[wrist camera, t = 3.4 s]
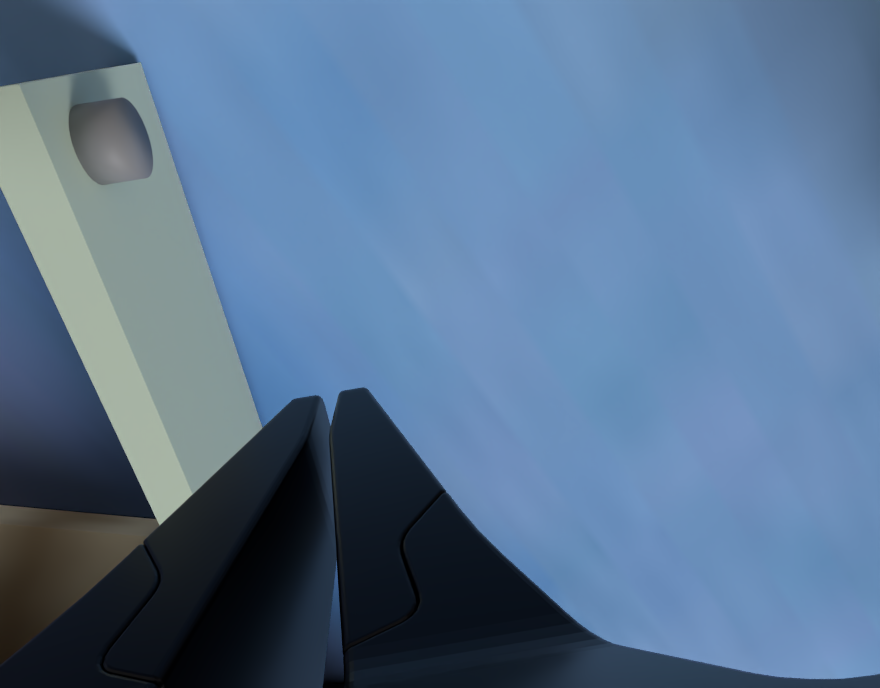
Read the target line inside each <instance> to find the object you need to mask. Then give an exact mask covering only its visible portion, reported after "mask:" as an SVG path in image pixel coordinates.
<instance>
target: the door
mask: <svg viewBox="0 0 880 688" xmlns="http://www.w3.org/2000/svg"><path fill="white" fill-rule="evenodd" d="M0 187H1V189H2V191H3V194H4V196H5V198H6V200H7V202H8V204H9V206H10V208H11V211H12V213H13V215H14V217H15V219H16V221H17V223H18V226H19V228H20V230H21V232H22V234H23V236H24V238H25V240H26V243H27V245H28V247H29V249H30V251H31V253H32V255H33V257H34V260H35V262H36V264H37V266H38V268H39V270H40V272H41V274H42V277H43V279H44V281H45V283H46V285H47V287H48V289H49V291H50V294H51V296H52V298H53V300H54V302H55V304H56V306H57V308H58V311H59V313H60V315H61V317H62V319H63V321H64V323H65V326H66V328H67V330H68V332H69V334H70V336H71V338H72V340H73V343H74V345H75V347H76V349H77V351H78V353H79V355H80V357H81V360H82V362H83V364H84V366H85V368H86V370H87V372H88V374H89V377H90V379H91V381H92V383H93V385H94V387H95V389H96V391H97V394H98V396H99V398H100V400H101V402H102V404H103V406H104V408H105V411H106V413H107V415H108V417H109V419H110V421H111V423H112V426H113V428H114V430H115V432H116V434H117V436H118V438H119V440H120V443H121V445H122V447H123V449H124V451H125V453H126V455H127V457H128V460H129V462H130V464H131V466H132V468H133V470H134V472H135V474H136V477H137V479H138V481H139V483H140V485H141V487H142V489H143V491H144V494H145V496H146V498H147V500H148V502H149V504H150V506H151V508H152V511H153V513H154V515H155V517H156V519H157V521H158V523H159V525H160V524H162V523H163V522H164V521H165V520H166V519H167V518H168V517H169V516H170V515H171V514H172V513H173V512H174V511H175V510H176V509H177V508H179V507H180V506H181V505H182V504H183V503H184V502H185V501H186V500H187V499H188V498H189V497H190V496H191V495H192V494H193V493H194V492H195V491H197V490H198V489H199V488H200V487H201V486H202V485H203V484H204V483H205V482H206V481H207V480H208V479H209V478H210V477H211V476H212V475H213V474H215V473H216V472H217V471H218V470H219V469H220V468H221V467H222V466H223V465H224V464H225V463H226V462H227V461H228V460H229V459H230V458H231V457H233V456H234V455H235V454H236V453H237V452H238V451H239V450H240V449H241V448H242V447H243V446H244V445H245V444H246V443H247V442H248V441H249V440H251V439H252V438H253V437H254V436H255V435H256V434H257V433H258V432H259V431H260V430H261V429H262V425H261V422H260V419H259V416H258V413H257V410H256V407H255V404H254V401H253V398H252V395H251V392H250V389H249V386H248V383H247V380H246V377H245V374H244V371H243V368H242V365H241V362H240V359H239V356H238V353H237V350H236V347H235V344H234V341H233V338H232V335H231V332H230V329H229V326H228V323H227V320H226V317H225V314H224V311H223V308H222V305H221V302H220V299H219V296H218V293H217V290H216V287H215V284H214V281H213V278H212V275H211V272H210V269H209V266H208V263H207V260H206V257H205V254H204V251H203V248H202V245H201V242H200V239H199V236H198V233H197V230H196V227H195V224H194V221H193V218H192V215H191V212H190V209H189V206H188V203H187V200H186V197H185V194H184V191H183V188H182V185H181V182H180V179H179V176H178V173H177V170H176V167H175V164H174V161H173V158H172V155H171V152H170V149H169V146H168V143H167V140H166V137H165V134H164V131H163V128H162V125H161V122H160V119H159V116H158V113H157V110H156V107H155V104H154V101H153V98H152V95H151V92H150V89H149V86H148V83H147V80H146V77H145V74H144V71H143V68H142V65H141V62H140V63H133V64H127V65H121V66H114V67H108V68H102V69H96V70H90V71H84V72H79V73H73V74H67V75H62V76H56V77H50V78H45V79H39V80H33V81H28V82H22V83H16V84H11V85H5V86H0Z"/></svg>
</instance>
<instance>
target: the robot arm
mask: <svg viewBox="0 0 880 688" xmlns="http://www.w3.org/2000/svg"><path fill="white" fill-rule="evenodd" d="M143 543H144V545H143V544H140V545H138V546H137V547H136V548H135V549H134V550H133V551H132V552H131V553H130V554H129V555H127V556H126V557H125V558H124V559H123V560H122V561H121V562H120V563H119V564H118V565H117V566H116V567H115V568H114V569H112V570H111V571H110V572H109V573H108V574H107V575H106V576H105V577H104V578H103V579H101V580H100V581H99V582H98V583H97V584H96V585H95V586H94V587H93V588H91V589H90V590H89V591H88V592H87V593H86V594H85V595H84V596H83V597H81V598H80V599H79V600H78V601H77V602H76V603H74V604H73V605H72V606H71V607H70V608H68V609H67V610H66V611H65V612H64V613H63V614H61V615H60V616H59V617H58V618H57V619H55V620H54V621H53V622H52V623H51V624H49V625H48V626H47V627H46V628H45V629H44V630H42V631H41V632H40V633H39V634H37V635H36V636H35V637H34V638H33V639H31V640H30V641H29V642H28V643H26V644H25V645H24V646H23V647H22V648H20V649H19V650H18V651H17V652H16V653H14V654H13V655H12V656H11V657H9V658H8V659H7V660H6V661H5V662H3V663H2V664H1V665H0V688H880V674H877V675H871V676H863V677H854V678H846V679H800V678H784V677H775V676H769V675H762V674H755V673H750V672H746V671H741V670H736V669H731V668H726V667H722V666H717V665H712V664H707V663H702V662H697V661H693V660H688V659H683V658H678V657H673V656H668V655H664V654H659V653H654V652H649V651H644V650H640V649H635V648H630V647H625V646H620V645H617V644H613V643H611V642H608V641H606V640H604V639H602V638H600V637H599V636H597V635H595V634H593V633H592V632H590V631H589V630H587V629H586V628H585V627H583V626H582V625H580V624H579V623H578V622H577V621H576V620H574V619H573V618H572V617H571V616H570V615H569V614H568V613H566V612H565V611H564V610H563V609H562V608H561V607H560V606H559V605H558V604H557V603H555V602H554V601H553V600H552V599H551V598H550V597H549V596H548V595H547V594H546V593H545V592H543V591H542V590H541V589H540V588H539V587H538V586H537V585H536V584H535V583H534V582H532V581H531V580H530V579H529V578H528V577H527V576H526V575H525V574H524V573H523V572H522V571H520V570H519V569H518V568H517V567H516V566H515V565H514V564H513V563H512V562H511V561H510V560H508V559H507V558H506V557H505V556H504V555H503V554H502V553H501V552H500V551H499V550H498V549H497V548H496V547H495V546H494V545H493V544H492V543H491V542H490V541H489V540H488V539H487V538H486V537H485V536H484V535H483V534H482V533H481V532H480V531H479V530H478V529H477V528H476V527H475V526H474V525H473V523H472V522H471V521H470V520H469V519H468V517H467V516H466V515H465V514H464V513H463V512H462V510H461V509H460V508H459V507H458V505H457V504H456V503H455V502H454V500H453V499H452V498H451V496H450V495H449V494H448V493H447V492H446V490H445V489H444V488H443V486H442V485H441V484H440V482H439V481H438V480H437V479H436V477H435V476H434V475H433V473H432V472H431V471H430V469H429V468H428V467H427V466H426V464H425V463H424V462H423V460H422V459H421V458H420V456H419V455H418V454H417V453H416V451H415V450H414V449H413V447H412V446H411V445H410V443H409V442H408V441H407V440H406V438H405V437H404V436H403V434H402V433H401V432H400V430H399V429H398V428H397V427H396V425H395V424H394V423H393V421H392V420H391V419H390V417H389V416H388V415H387V414H386V412H385V411H384V410H383V408H382V407H381V406H380V404H379V403H378V402H377V401H376V399H375V398H374V397H373V395H372V394H371V393H370V391H369V390H368V389H367V388H357V389H351V390H345V391H341V392H340V393H339V395H338V399H337V403H336V407H335V411H334V416H333V420H332V424H331V426H330V423H329V419H328V415H327V411H326V408H325V404H324V401H323V399H322V398H321V397H320V396H316V395H315V396H309V397H303V398H296V399H294V400H292V401H291V402H290V403H289V404H288V405H286V406H285V407H284V408H283V409H282V410H281V411H280V412H279V413H278V414H277V415H276V416H275V417H274V418H273V419H272V420H271V421H270V422H269V423H267V424H266V425H265V426H264V427H263V428H262V429H261V430H260V431H259V432H258V433H257V434H256V435H255V436H254V437H253V438H252V439H251V440H249V441H248V442H247V443H246V444H245V445H244V446H243V447H242V448H241V449H240V450H239V451H238V452H237V453H236V454H235V455H234V456H233V457H231V458H230V459H229V460H228V461H227V462H226V463H225V464H224V465H223V466H222V467H221V468H220V469H219V470H218V471H217V472H216V473H215V474H213V475H212V476H211V477H210V478H209V479H208V480H207V481H206V482H205V483H204V484H203V485H202V486H201V487H200V488H199V489H198V490H197V491H195V492H194V493H193V494H192V495H191V496H190V497H189V498H188V499H187V500H186V501H185V502H184V503H183V504H182V505H181V506H180V507H179V508H177V509H176V510H175V511H174V512H173V513H172V514H171V515H170V516H169V517H168V518H167V519H166V520H165V521H164V522H163V523H162V524H160V525H159V526H158V527H157V528H156V529H155V530H154V531H153V532H152V533H151V534H150V535H149V536H148V537H147V538H146V539H145V540H144V542H143ZM336 561H337V571H338V586H339V602H340V617H341V632H342V648H343V655H344V657H343V660H344V684H331V683H323V680H324V670H325V661H326V652H327V643H328V634H329V625H330V616H331V606H332V597H333V588H334V579H335V570H336Z"/></svg>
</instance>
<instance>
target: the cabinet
mask: <svg viewBox="0 0 880 688" xmlns="http://www.w3.org/2000/svg"><path fill="white" fill-rule="evenodd" d="M158 526H159V523H158V521H157V519H149V518H138V517H127V516H116V515H105V514H94V513H83V512H72V511H61V510H50V509H39V508H28V507H18V506H7V505H0V665H1V664H2V663H3V662H5V661H6V660H7V659H8V658H9V657H11V656H12V655H13V654H14V653H16V652H17V651H18V650H19V649H20V648H22V647H23V646H24V645H25V644H26V643H28V642H29V641H30V640H31V639H33V638H34V637H35V636H36V635H37V634H39V633H40V632H41V631H42V630H44V629H45V628H46V627H47V626H48V625H49V624H51V623H52V622H53V621H54V620H55V619H57V618H58V617H59V616H60V615H61V614H63V613H64V612H65V611H66V610H67V609H68V608H70V607H71V606H72V605H73V604H74V603H76V602H77V601H78V600H79V599H80V598H81V597H83V596H84V595H85V594H86V593H87V592H88V591H89V590H90V589H91V588H93V587H94V586H95V585H96V584H97V583H98V582H99V581H100V580H101V579H103V578H104V577H105V576H106V575H107V574H108V573H109V572H110V571H111V570H112V569H114V568H115V567H116V566H117V565H118V564H119V563H120V562H121V561H122V560H123V559H124V558H125V557H126V556H127V555H129V554H130V553H131V552H132V551H133V550H134V549H135V548H136V547H137V546H138V545H140V544H143V545H144V543H143V542H144V540H145V539H146V538H147V537H148V536H149V535H150V534H151V533H152V532H153V531H154V530H155V529H156V528H157V527H158Z"/></svg>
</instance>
